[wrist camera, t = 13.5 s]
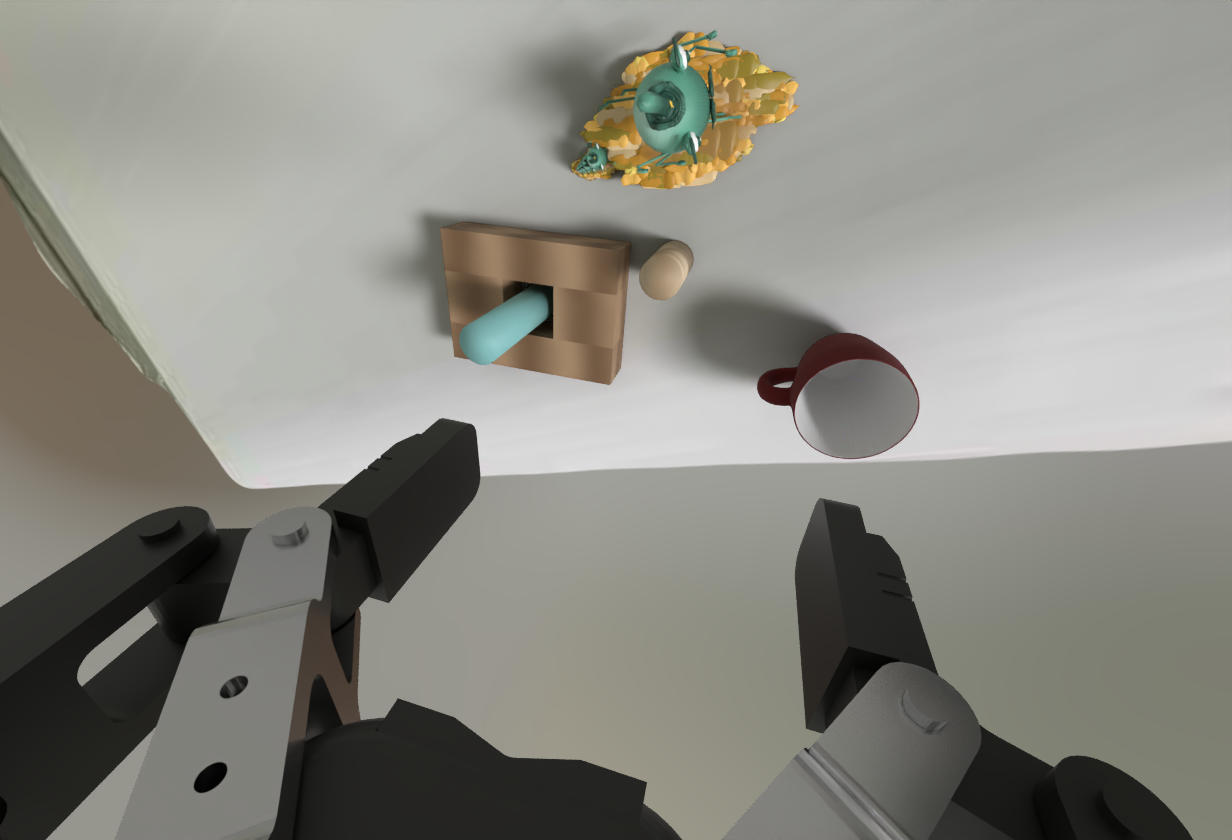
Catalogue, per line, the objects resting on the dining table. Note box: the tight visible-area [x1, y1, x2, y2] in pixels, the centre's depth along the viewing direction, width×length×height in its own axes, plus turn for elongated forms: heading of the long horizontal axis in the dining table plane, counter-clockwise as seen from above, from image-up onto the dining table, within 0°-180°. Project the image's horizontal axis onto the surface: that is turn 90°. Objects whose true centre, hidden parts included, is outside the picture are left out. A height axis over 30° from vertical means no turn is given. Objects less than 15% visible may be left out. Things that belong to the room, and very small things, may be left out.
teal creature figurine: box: [571, 30, 799, 189], centre depth 31 cm, size 10×18×15 cm, turn 99°
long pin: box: [459, 284, 553, 365], centre depth 41 cm, size 3×3×13 cm
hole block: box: [440, 222, 631, 385], centre depth 45 cm, size 16×12×4 cm
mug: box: [757, 333, 919, 459], centre depth 38 cm, size 11×8×10 cm
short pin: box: [639, 240, 694, 300], centre depth 39 cm, size 3×3×7 cm
